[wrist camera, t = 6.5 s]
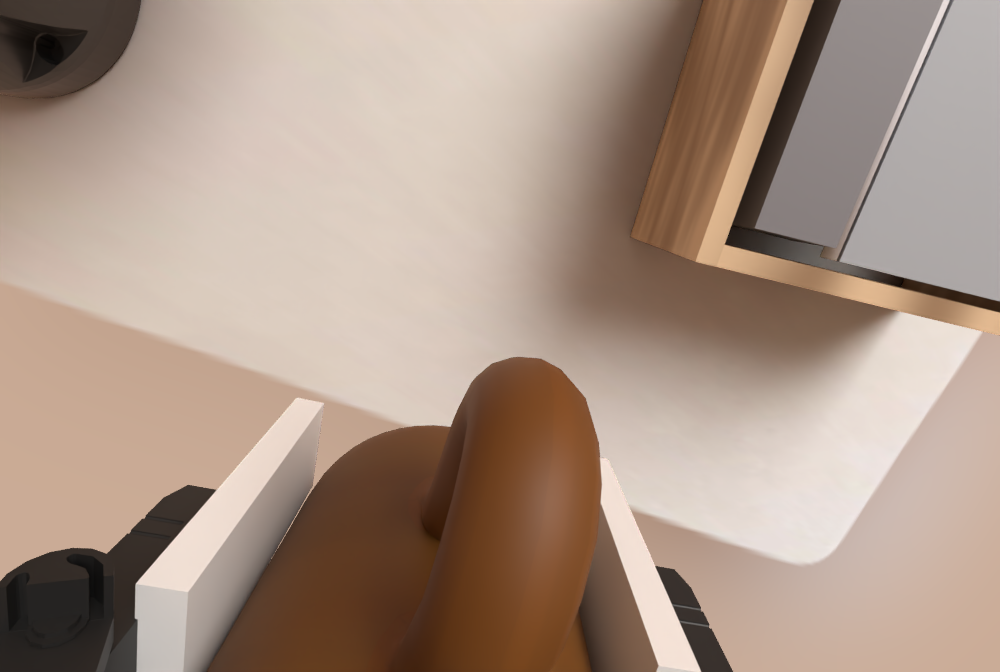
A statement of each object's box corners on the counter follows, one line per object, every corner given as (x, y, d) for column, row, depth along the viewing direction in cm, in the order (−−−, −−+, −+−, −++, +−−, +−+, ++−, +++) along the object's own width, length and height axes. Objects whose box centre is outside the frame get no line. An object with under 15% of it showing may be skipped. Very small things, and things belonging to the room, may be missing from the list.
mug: (374, 229, 12) (81, 354, 3) (651, 315, 13) (992, 595, 4) (288, 592, 16) (26, 1135, 7) (513, 642, 17) (544, 1183, 8)
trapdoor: (717, 232, 26) (750, 239, 22) (840, -109, 21) (906, -171, 18) (965, 293, 26) (1037, 310, 22) (1134, -31, 22) (1256, -75, 18)
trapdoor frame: (630, 236, 32) (695, 261, 22) (731, -90, 27) (876, -253, 17) (906, 304, 34) (1083, 355, 24) (1050, 10, 29) (1353, -82, 19)
